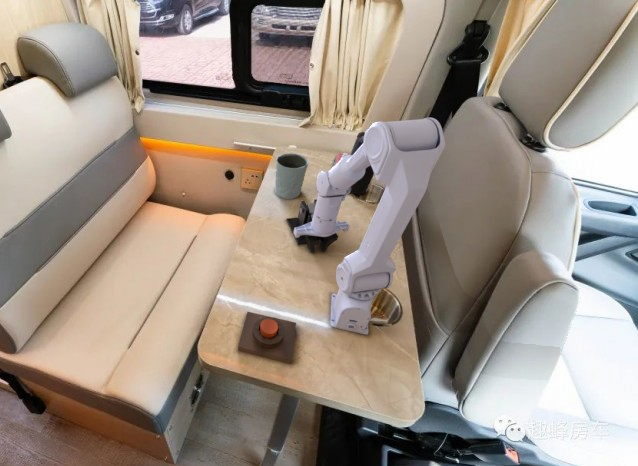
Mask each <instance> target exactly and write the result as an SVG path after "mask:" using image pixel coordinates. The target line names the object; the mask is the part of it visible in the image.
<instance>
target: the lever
mask: <svg viewBox="0 0 638 466" xmlns="http://www.w3.org/2000/svg"><path fill="white" fill-rule="evenodd" d="M306 205H307V206H308V208H309V215H308V216H310V219H311V222H312V219H313V215H314V211H315V206H316V205H315V203H314V202H312V203H306ZM316 238H317V240H318V243H317V244H316V246H317V247H320V245H322V244H323V242H324V238H323V237H320V236H316Z"/></svg>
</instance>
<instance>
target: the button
mask: <svg viewBox="0 0 638 466" xmlns="http://www.w3.org/2000/svg"><path fill="white" fill-rule="evenodd" d="M277 330H278V325H277V323H276V322H275V321H274V320H272V319H265V320H263V321H262V322H261V325H260V332H261V334H262V335H263V336H264V337H266V338H273V337H275V336H276V334H277Z"/></svg>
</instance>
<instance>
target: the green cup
mask: <svg viewBox="0 0 638 466" xmlns="http://www.w3.org/2000/svg"><path fill="white" fill-rule="evenodd" d="M308 166H309V160H308V158H307V157H305V156H304V155H302V154H298V153H292V152H291V153H283V154H280V155H278V156H277V157H276V159H275V169H276V171H275V183H274V184H275V185H274V191H275V194H276V195H277V196H278V197H279V198H282V199H287V200H292V199H296V198H298V197H299V196H300V195H301V192H302V187H303V185H304V180H305V177H306V172H307V169H308Z"/></svg>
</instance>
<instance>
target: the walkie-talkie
mask: <svg viewBox="0 0 638 466" xmlns="http://www.w3.org/2000/svg"><path fill="white" fill-rule="evenodd" d="M343 155H350V154H349V152H342V153H340V152H339V153H336V154H335V156H334V160H333V166H334V165H336V164H337V163H338V162H339V161H340V160H341V157H342V156H343Z"/></svg>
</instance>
